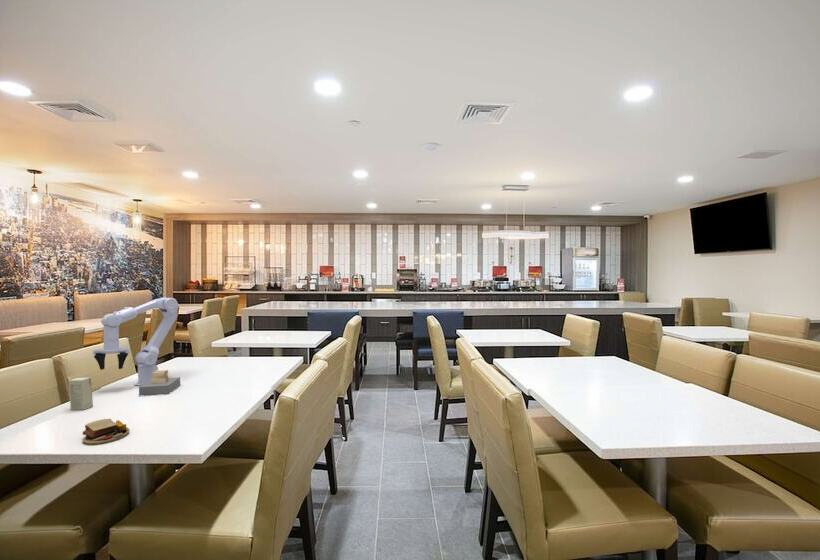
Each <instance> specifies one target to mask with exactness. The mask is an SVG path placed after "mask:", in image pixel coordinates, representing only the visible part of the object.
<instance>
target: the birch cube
mask: <svg viewBox="0 0 820 560" xmlns="http://www.w3.org/2000/svg"><path fill="white" fill-rule="evenodd" d="M168 378H169V370H168V369H160V370H159V369H158V370H156V371H155V372H153V373H152V384H159V383H165V382H166V381H168Z"/></svg>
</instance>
